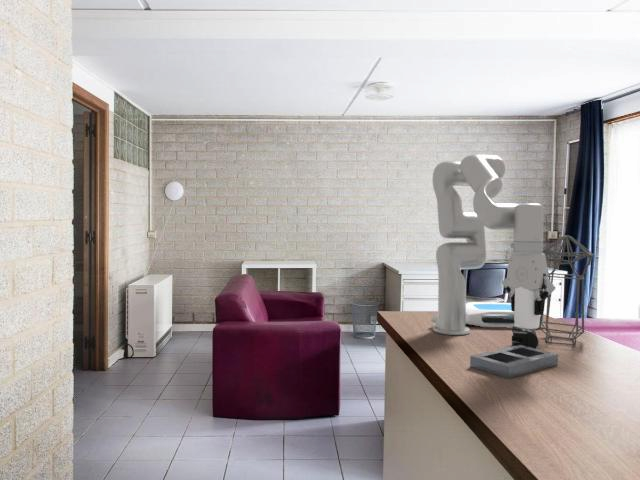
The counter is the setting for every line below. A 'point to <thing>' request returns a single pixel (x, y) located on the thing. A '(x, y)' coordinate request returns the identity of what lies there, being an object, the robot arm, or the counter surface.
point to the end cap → (524, 337)
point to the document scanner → (489, 313)
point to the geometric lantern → (586, 254)
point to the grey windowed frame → (513, 361)
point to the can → (525, 309)
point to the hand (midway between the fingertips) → (527, 312)
